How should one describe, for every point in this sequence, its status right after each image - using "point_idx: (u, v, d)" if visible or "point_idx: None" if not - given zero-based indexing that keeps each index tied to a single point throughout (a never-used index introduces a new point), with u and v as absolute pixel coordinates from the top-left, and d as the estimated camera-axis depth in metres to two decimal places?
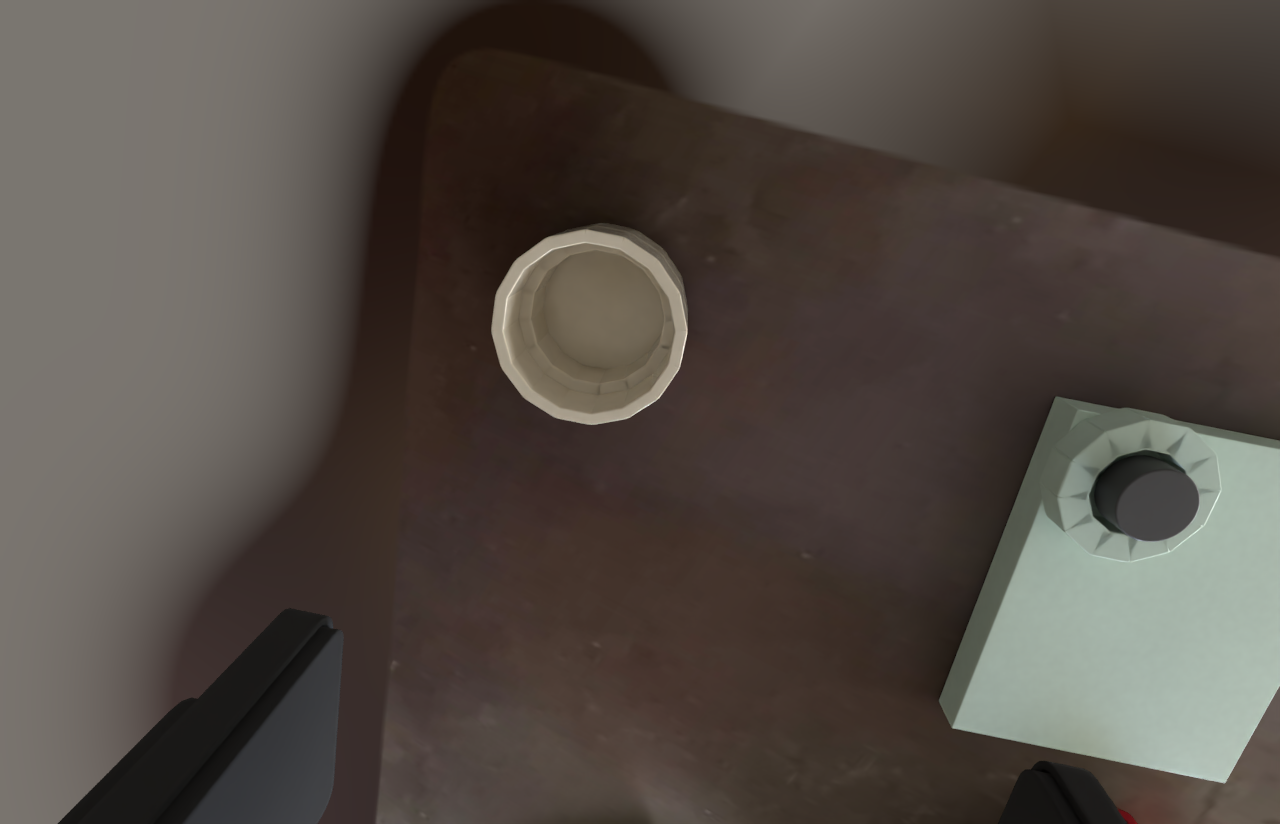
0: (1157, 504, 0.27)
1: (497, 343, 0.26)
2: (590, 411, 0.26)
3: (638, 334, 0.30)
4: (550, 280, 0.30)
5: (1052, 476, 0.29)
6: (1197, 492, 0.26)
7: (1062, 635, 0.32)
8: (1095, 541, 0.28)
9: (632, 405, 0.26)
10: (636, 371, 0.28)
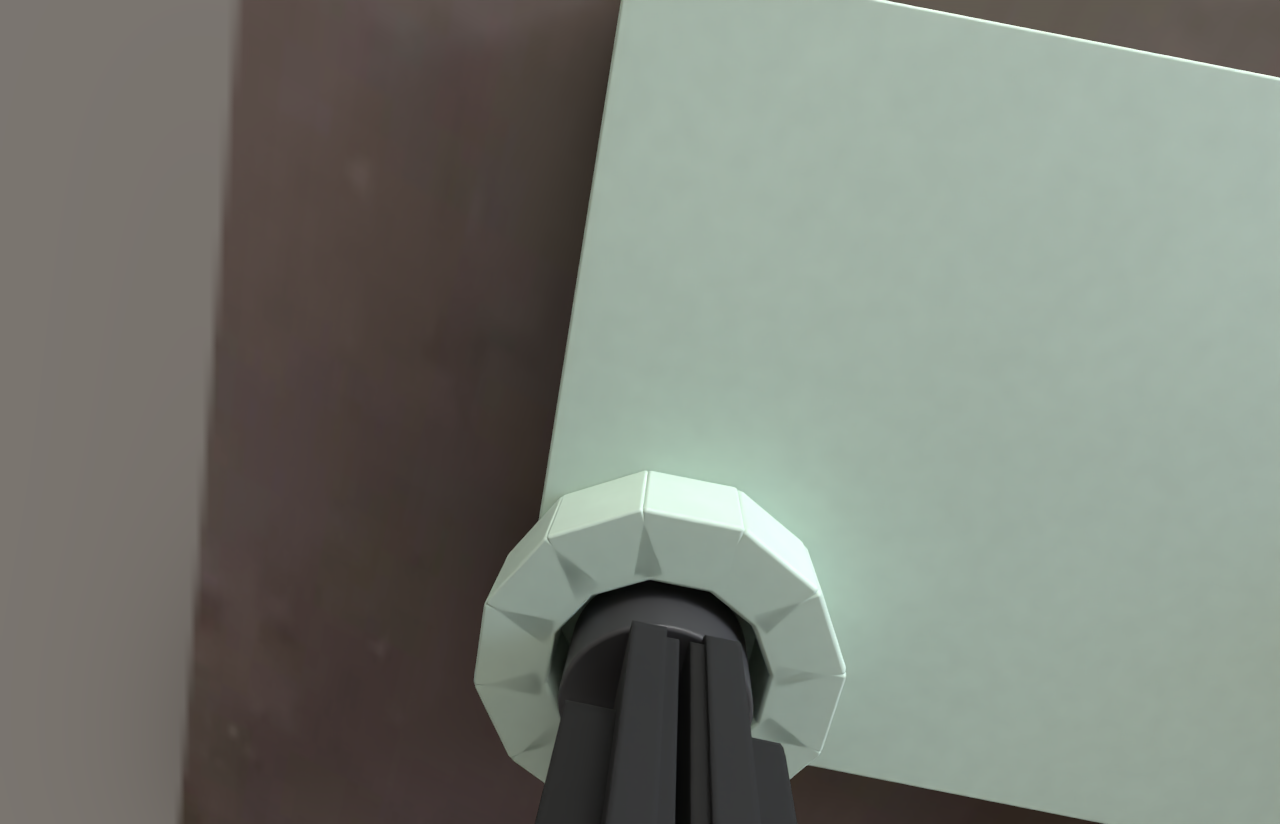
0: None
1: None
2: None
3: None
4: None
5: None
6: (614, 635, 0.11)
7: (1078, 676, 0.13)
8: None
9: None
10: None
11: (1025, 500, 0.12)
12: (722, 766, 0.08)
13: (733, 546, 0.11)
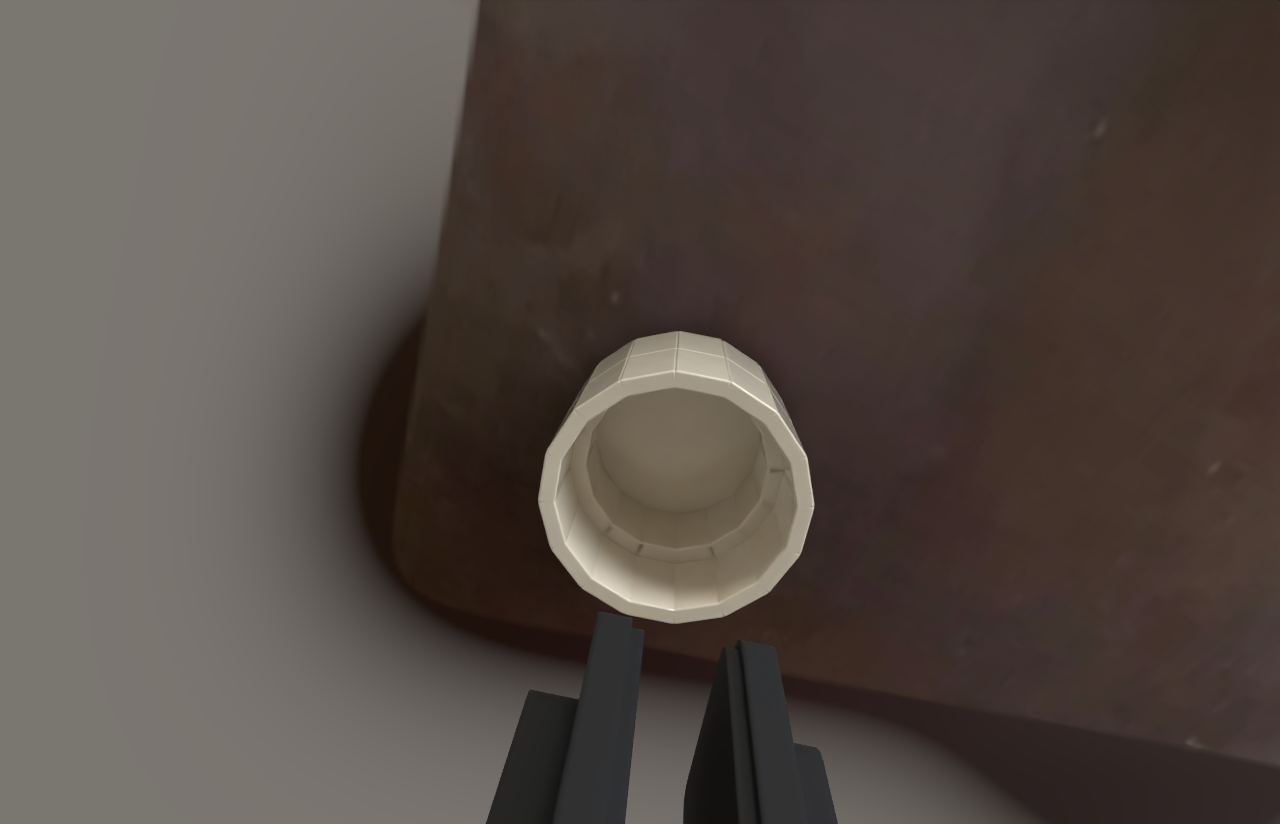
0: None
1: (690, 618, 0.19)
2: (794, 505, 0.18)
3: (712, 396, 0.22)
4: (641, 502, 0.24)
5: None
6: None
7: None
8: None
9: (786, 449, 0.17)
10: (751, 418, 0.20)
11: None
12: (766, 771, 0.08)
13: None
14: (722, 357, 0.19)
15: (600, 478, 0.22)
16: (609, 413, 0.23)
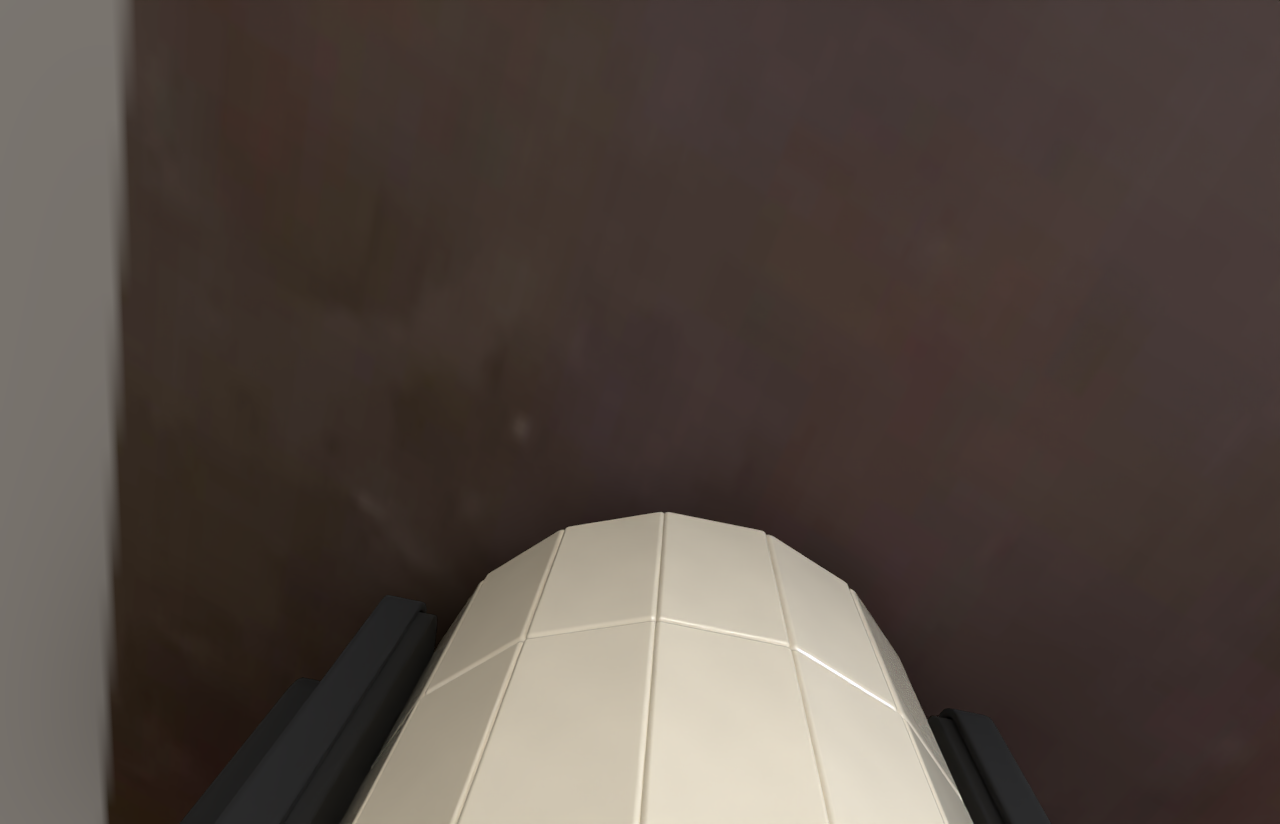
0: None
1: None
2: None
3: None
4: None
5: None
6: None
7: None
8: None
9: None
10: None
11: None
12: None
13: None
14: (782, 649, 0.07)
15: None
16: None
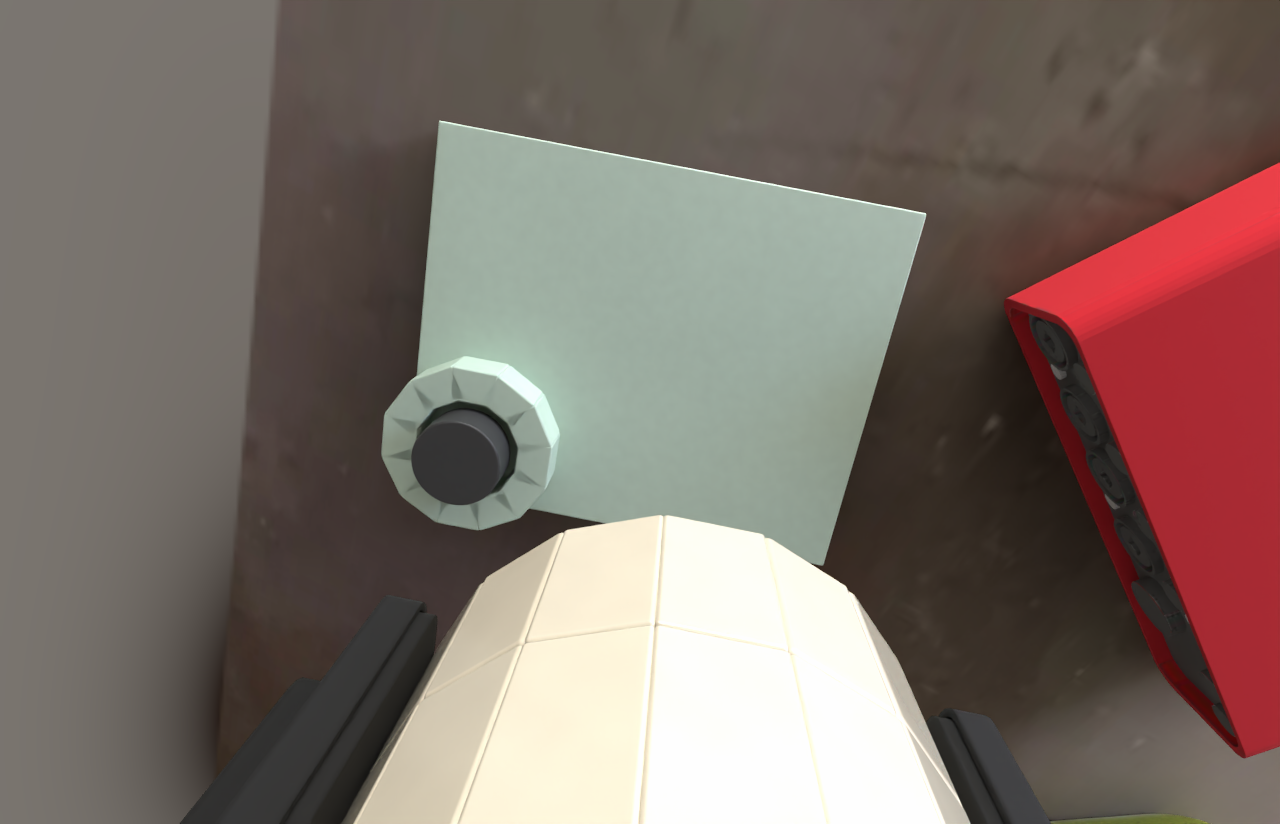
0: (452, 465, 0.24)
1: None
2: None
3: None
4: None
5: None
6: (433, 426, 0.23)
7: (684, 460, 0.26)
8: (527, 486, 0.25)
9: None
10: None
11: (644, 368, 0.25)
12: None
13: (493, 383, 0.24)
14: (781, 653, 0.07)
15: None
16: None
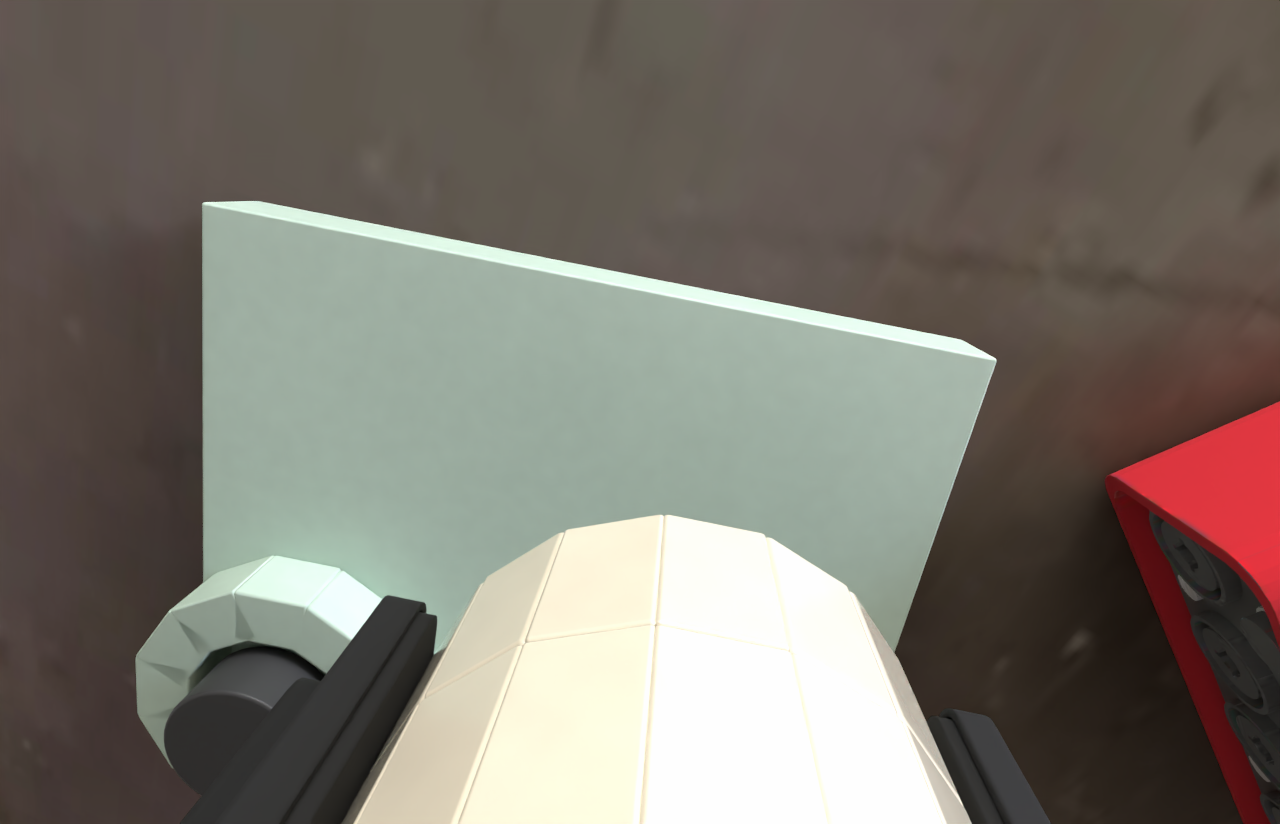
0: (229, 756, 0.15)
1: None
2: None
3: None
4: None
5: None
6: (194, 698, 0.14)
7: None
8: None
9: None
10: None
11: None
12: None
13: (300, 618, 0.15)
14: (782, 653, 0.07)
15: None
16: None
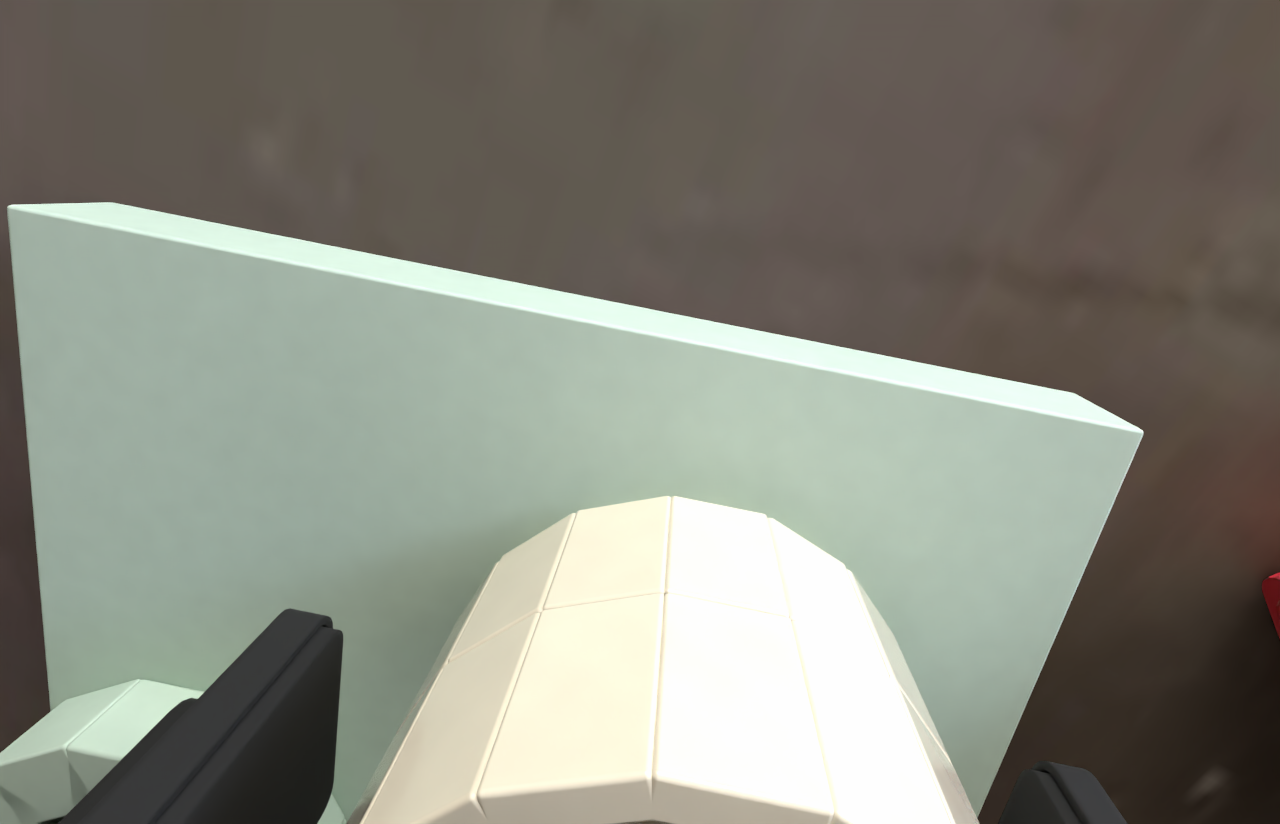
0: None
1: None
2: None
3: None
4: None
5: None
6: None
7: None
8: None
9: None
10: None
11: None
12: None
13: None
14: (782, 619, 0.07)
15: None
16: None
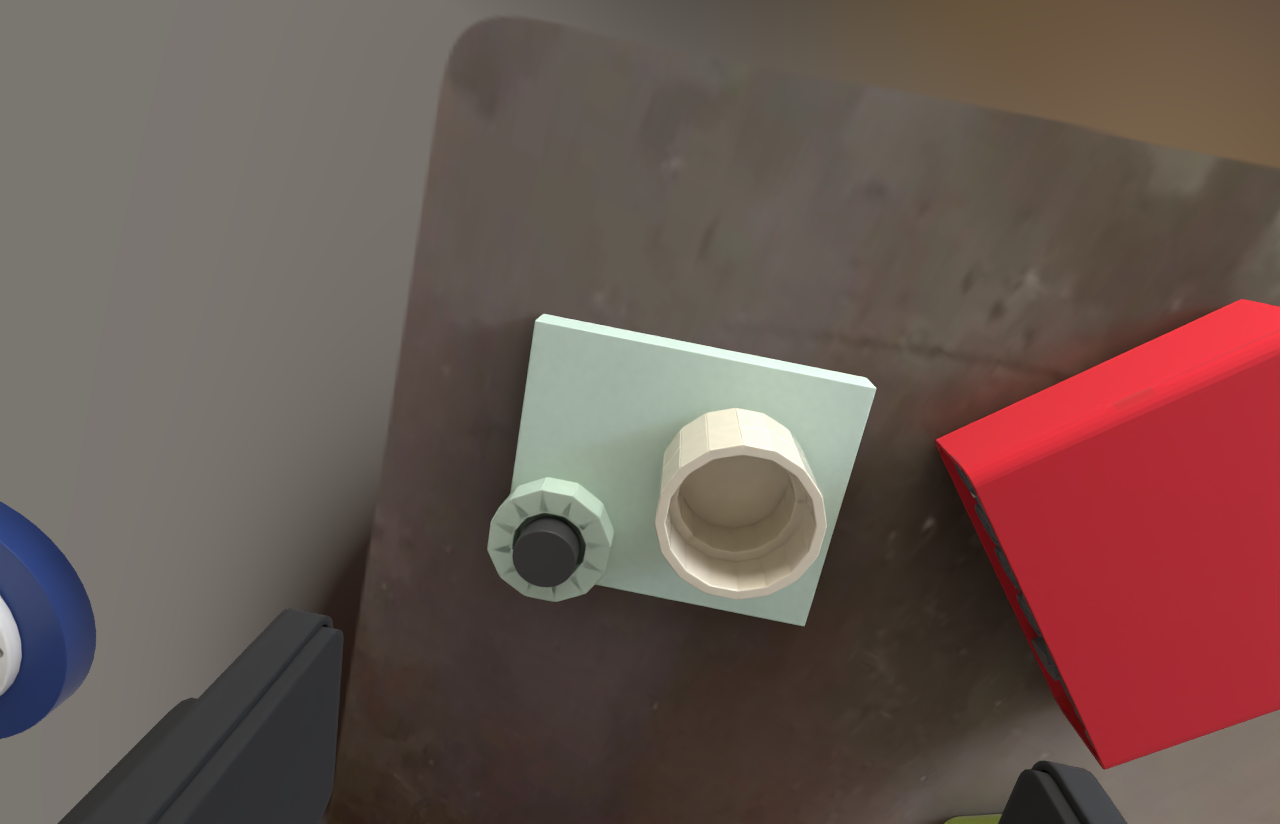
0: (541, 560, 0.33)
1: (748, 596, 0.30)
2: (814, 525, 0.29)
3: None
4: (707, 520, 0.35)
5: None
6: (529, 534, 0.33)
7: None
8: (592, 571, 0.35)
9: (810, 491, 0.29)
10: None
11: None
12: None
13: (570, 501, 0.34)
14: (767, 430, 0.30)
15: (682, 505, 0.33)
16: None
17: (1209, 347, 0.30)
